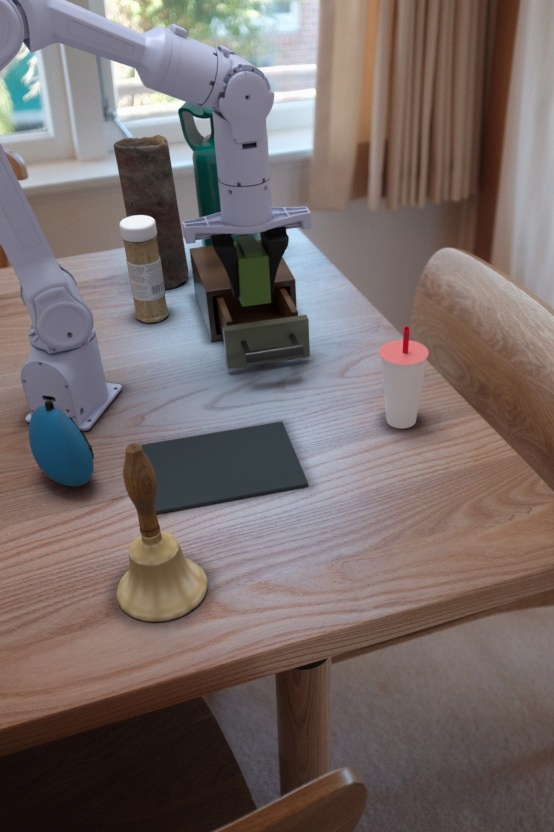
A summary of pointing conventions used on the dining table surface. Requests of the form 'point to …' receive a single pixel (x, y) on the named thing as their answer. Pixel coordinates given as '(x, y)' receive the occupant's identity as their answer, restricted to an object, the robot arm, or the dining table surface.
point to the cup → (402, 379)
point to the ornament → (60, 446)
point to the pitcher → (203, 162)
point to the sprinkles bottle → (144, 267)
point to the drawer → (261, 330)
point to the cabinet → (224, 284)
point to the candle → (154, 198)
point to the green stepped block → (252, 271)
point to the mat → (223, 466)
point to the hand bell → (155, 555)
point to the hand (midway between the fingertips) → (252, 291)
